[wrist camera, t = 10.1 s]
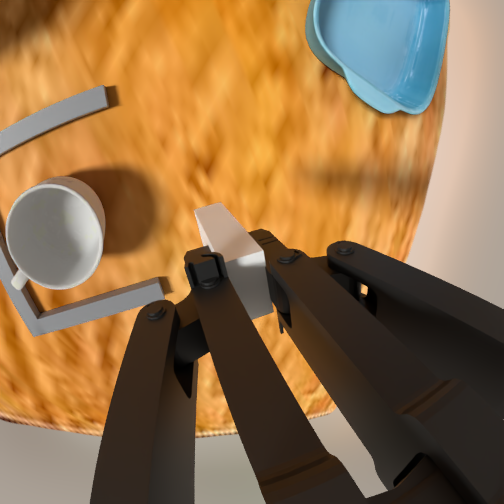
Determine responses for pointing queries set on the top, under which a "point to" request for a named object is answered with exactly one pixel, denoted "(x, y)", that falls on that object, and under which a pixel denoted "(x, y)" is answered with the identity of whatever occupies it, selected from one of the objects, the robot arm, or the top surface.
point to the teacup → (56, 233)
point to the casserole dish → (382, 48)
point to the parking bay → (3, 264)
